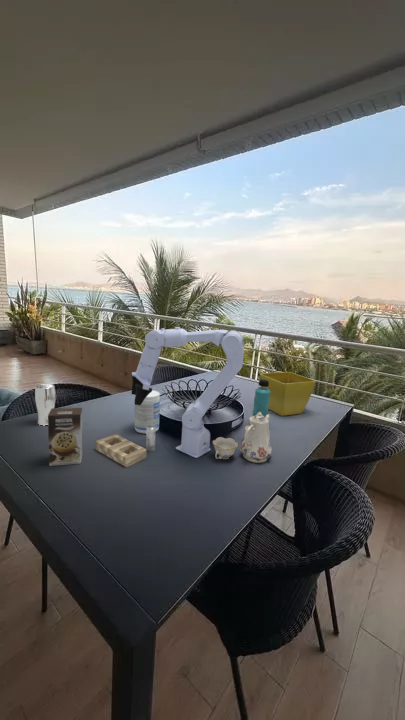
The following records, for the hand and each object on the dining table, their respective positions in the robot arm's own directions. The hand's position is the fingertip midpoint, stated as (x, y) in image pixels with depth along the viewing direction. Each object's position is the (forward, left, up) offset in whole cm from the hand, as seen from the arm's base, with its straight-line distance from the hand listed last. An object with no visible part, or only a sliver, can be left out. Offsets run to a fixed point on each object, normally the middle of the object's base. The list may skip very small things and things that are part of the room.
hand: (135, 399), depth 111 cm
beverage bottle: (-25, -46, -16) cm, 55 cm away
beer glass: (+36, +14, -16) cm, 42 cm away
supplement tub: (+5, -10, -16) cm, 20 cm away
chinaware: (-34, -22, -16) cm, 43 cm away
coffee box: (+5, +23, -16) cm, 28 cm away
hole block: (-3, +9, -16) cm, 19 cm away
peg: (-8, 0, -16) cm, 18 cm away
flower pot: (-24, -72, -16) cm, 78 cm away
